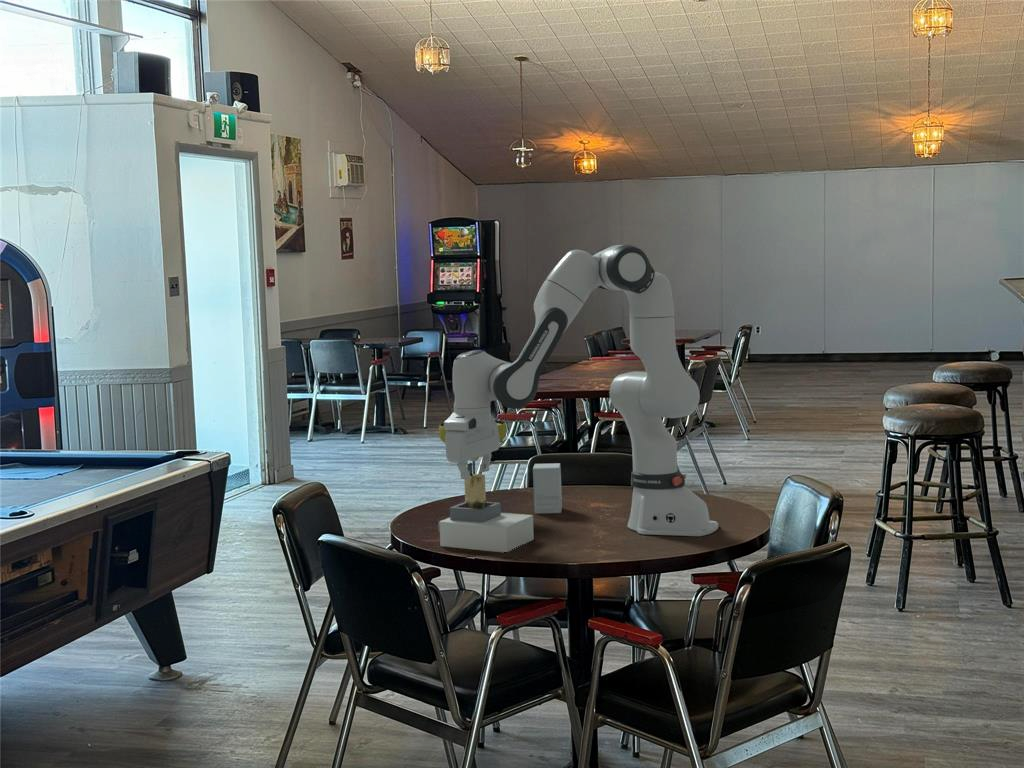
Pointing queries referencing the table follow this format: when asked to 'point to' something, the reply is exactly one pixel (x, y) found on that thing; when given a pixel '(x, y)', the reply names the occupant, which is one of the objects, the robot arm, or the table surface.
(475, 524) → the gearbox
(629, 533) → the table surface
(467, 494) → the spout can
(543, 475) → the supplement box
